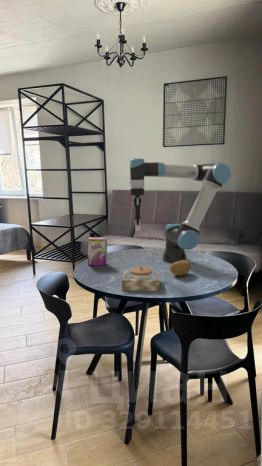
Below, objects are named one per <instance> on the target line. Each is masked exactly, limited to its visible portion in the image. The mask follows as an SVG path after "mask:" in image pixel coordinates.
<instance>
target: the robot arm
mask: <svg viewBox="0 0 262 466" xmlns="http://www.w3.org/2000/svg"><path fill="white" fill-rule="evenodd" d="M129 171H130V174H129V175H130V176H129V177H130V181H129V184H130V196H134V197H135V198H133V203H134V205H133V206H134V208H135V209H134V212H135V213H134V214H135V215H134V218H133V220H134V223H135V224H134V225H135V226H134V227H135V229H134V230H135V231H136V232H139V231H141V219H142V217H141V205H142V203H141V202H142V198H141V197H140V196H144V195H145V188H144V187H145V178H147V177H150V178H151V177H154V178H168V179H170V178H171V179H172V178H174V179H187V180H189V179H190V180H192V181H194V182H195V181H198V182H201V183H202V186H201V189H200V190H199V192H198V195H197V197H196V198H195V201H194V202H193V205H192V207H191V210H190V211H189V213H188V216H187V217H186V219H185V221H182V222H181V223H174V224H173V223H171V224H170V223H169V224H166V226H165V248H164V252H163V254H162V261H163V262H166V263H170V264H173V263H174V262H177V261H181V260H187V261H188V258H187V253H186V250H187V251H189V250H193V249H194V248H196V247H197V246H198V244H199V242H200V238H199V237H200V236H199V234H200V232H201V230H200V226H201V223H202V222H203V220H204V217H205V216H206V215H207V211H208V209H209V208H210V206H211V204H212V202H213V200H214V198H215V196H216V193H217V192H218V191H220V190H221V189H222V187H223V185H224V184H226V183H228V182H229V181H230V179H231V176H232V171H231V169H230V167H229V165H228V164H226V163H224V162H216V163H215V162H212V163H210V162H209V163H204V164H203V163H202V164H193V165H178V164H177V165H176V164H165V163H164V162H159V161H158V162H145V159H144V158H132V159H130V161H129Z"/></svg>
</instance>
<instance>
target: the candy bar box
mask: <svg viewBox="0 0 262 466" xmlns="http://www.w3.org/2000/svg"><path fill="white" fill-rule="evenodd" d="M87 264H88V265H87V266H98V265H99V267H100V266H101V267H103V266H105V267H106V266H107V265H108V238H107V237H94V236H93V237H90V236H89V237H88V238H87Z"/></svg>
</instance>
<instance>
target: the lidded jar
mask: <svg viewBox="0 0 262 466" xmlns="http://www.w3.org/2000/svg"><path fill="white" fill-rule="evenodd" d="M129 273H130V279H136V280H152V277H153V269H152V268H150V267H146V266H136V267H132V268H130V270H129Z"/></svg>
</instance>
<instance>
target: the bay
mask: <svg viewBox="0 0 262 466" xmlns="http://www.w3.org/2000/svg"><path fill="white" fill-rule="evenodd" d="M121 290H122V291H138V292H139V291H140V292H141V291H142V292H143V291H144V292H146V291H147V292H160V271H158V270H157V271H156V272H155V279H151V280H136V279H131V278H130V279H128V271H127V270H124V271H123V274H122V279H121Z"/></svg>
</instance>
